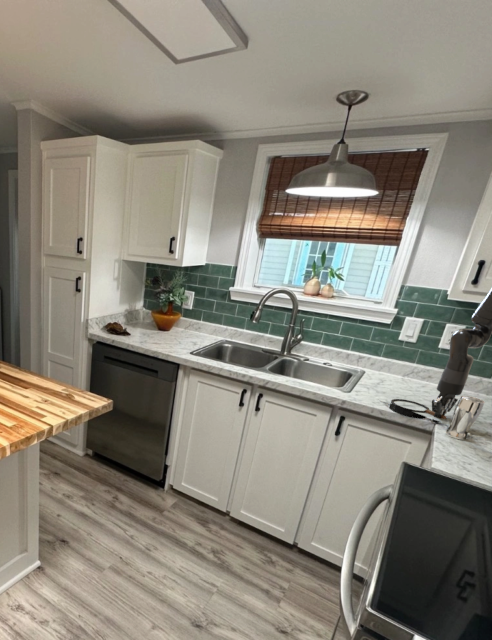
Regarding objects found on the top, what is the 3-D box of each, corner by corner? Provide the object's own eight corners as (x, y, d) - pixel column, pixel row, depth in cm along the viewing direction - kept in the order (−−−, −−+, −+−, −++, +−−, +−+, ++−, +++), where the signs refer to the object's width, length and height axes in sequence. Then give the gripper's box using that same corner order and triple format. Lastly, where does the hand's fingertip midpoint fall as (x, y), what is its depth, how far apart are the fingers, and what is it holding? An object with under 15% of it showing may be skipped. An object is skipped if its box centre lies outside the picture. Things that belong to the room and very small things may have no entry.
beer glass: (443, 429, 156) (459, 393, 150) (466, 435, 152) (484, 399, 147) (444, 436, 151) (461, 399, 145) (468, 442, 147) (486, 405, 141)
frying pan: (451, 424, 162) (455, 414, 161) (432, 428, 157) (436, 418, 156) (400, 405, 179) (403, 396, 178) (381, 408, 174) (384, 399, 172)
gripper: (453, 385, 149) (437, 428, 155) (474, 382, 155) (457, 423, 161) (431, 378, 156) (416, 420, 162) (451, 376, 161) (436, 416, 167)
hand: (436, 421), depth 161 cm, fingers closed on frying pan, 1 cm apart
